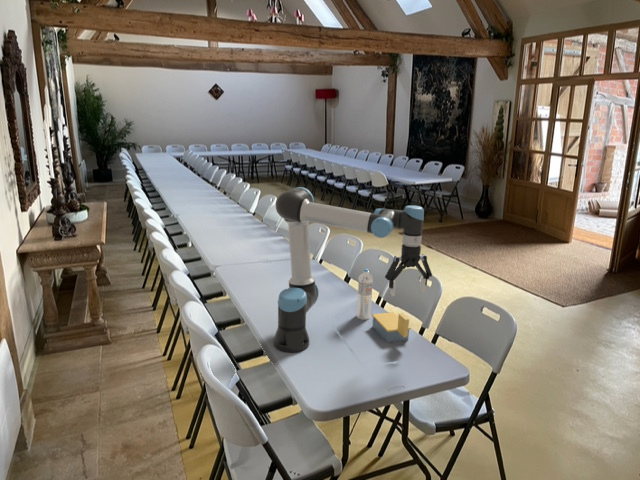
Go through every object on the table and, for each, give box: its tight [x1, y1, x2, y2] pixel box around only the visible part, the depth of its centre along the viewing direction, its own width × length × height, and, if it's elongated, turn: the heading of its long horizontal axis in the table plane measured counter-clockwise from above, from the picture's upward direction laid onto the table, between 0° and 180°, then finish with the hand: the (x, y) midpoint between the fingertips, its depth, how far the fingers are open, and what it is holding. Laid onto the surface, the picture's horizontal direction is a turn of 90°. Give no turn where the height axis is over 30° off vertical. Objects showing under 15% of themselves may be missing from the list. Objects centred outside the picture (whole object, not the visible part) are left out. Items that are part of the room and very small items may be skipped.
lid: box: [371, 311, 412, 338], centre depth 207 cm, size 11×23×8 cm, turn 17°
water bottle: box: [356, 268, 374, 321], centre depth 225 cm, size 7×7×25 cm
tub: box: [372, 316, 410, 344], centre depth 212 cm, size 10×16×6 cm, turn 17°
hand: (407, 294), depth 195 cm, fingers open, 13 cm apart
